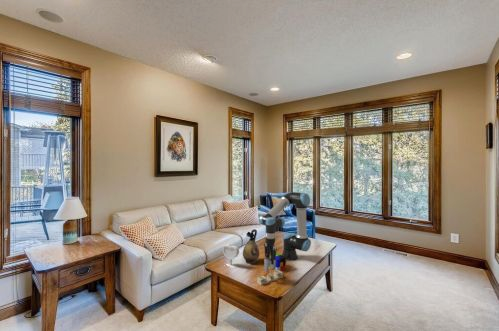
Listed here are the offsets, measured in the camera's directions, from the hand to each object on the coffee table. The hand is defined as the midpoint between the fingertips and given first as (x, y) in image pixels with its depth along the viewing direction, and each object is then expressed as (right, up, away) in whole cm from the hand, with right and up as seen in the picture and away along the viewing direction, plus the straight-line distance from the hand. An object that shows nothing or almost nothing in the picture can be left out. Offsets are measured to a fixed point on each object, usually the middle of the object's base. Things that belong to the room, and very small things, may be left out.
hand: (270, 267), depth 186 cm
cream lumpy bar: (0, -10, 0) cm, 10 cm away
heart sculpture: (-33, -10, +26) cm, 43 cm away
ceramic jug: (-14, -10, +35) cm, 39 cm away
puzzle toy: (+9, -10, +22) cm, 26 cm away
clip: (0, -2, 0) cm, 2 cm away
